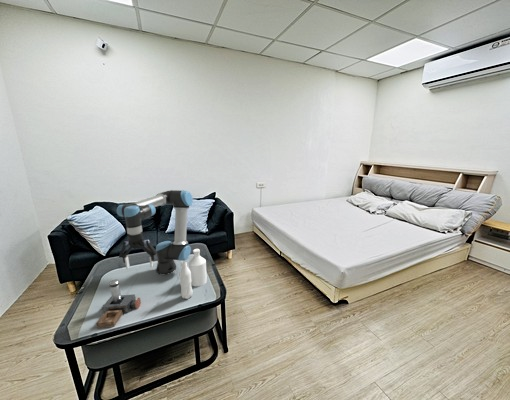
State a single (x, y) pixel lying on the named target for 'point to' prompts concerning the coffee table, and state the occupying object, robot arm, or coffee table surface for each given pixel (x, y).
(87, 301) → the coffee table surface
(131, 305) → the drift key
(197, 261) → the bottle
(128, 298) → the socket block
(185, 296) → the water bottle
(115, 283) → the peg
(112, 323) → the brown square tray
